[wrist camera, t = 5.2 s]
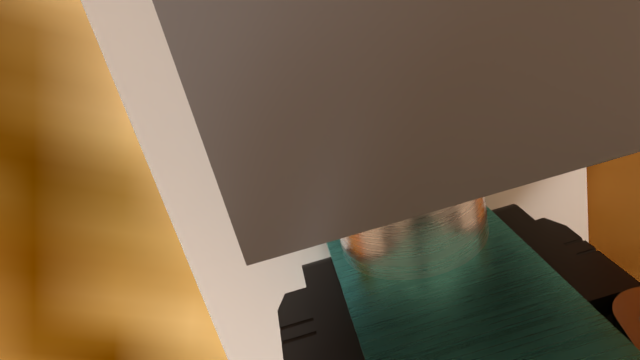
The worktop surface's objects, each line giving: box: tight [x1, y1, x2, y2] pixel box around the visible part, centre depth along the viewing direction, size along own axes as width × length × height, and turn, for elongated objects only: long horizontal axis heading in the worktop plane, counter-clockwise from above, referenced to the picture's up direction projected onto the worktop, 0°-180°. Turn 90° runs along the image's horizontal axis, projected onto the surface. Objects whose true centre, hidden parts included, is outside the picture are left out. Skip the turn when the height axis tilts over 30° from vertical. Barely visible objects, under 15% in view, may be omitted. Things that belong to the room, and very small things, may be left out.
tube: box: [326, 197, 640, 360], centre depth 9 cm, size 14×4×7 cm, turn 14°
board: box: [81, 0, 640, 360], centre depth 11 cm, size 22×10×6 cm, turn 14°
